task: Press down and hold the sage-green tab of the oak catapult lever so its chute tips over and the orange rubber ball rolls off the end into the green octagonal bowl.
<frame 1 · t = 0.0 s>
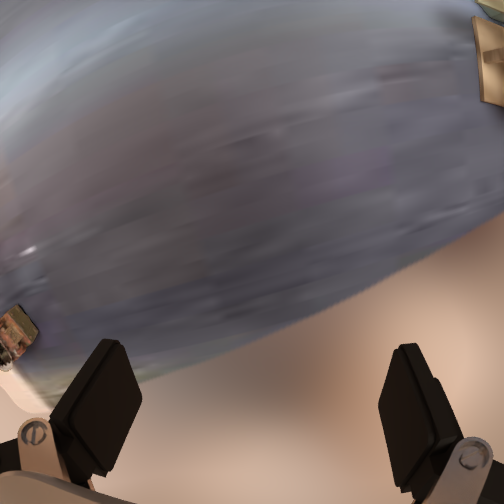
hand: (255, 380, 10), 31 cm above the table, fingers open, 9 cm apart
decorative box: (20, 333, 55), on the table
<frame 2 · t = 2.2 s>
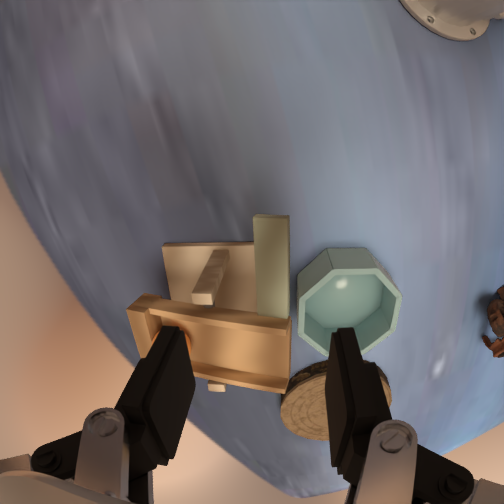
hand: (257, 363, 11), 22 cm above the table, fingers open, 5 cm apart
lever: (203, 311, 26), point 10 cm above the table, hinge at 12.0°, touching ball
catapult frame: (227, 292, 36), on the table
pottery mug: (497, 309, 34), on the table
green octagonal bowl: (342, 291, 34), on the table
wood log slice: (334, 394, 42), on the table
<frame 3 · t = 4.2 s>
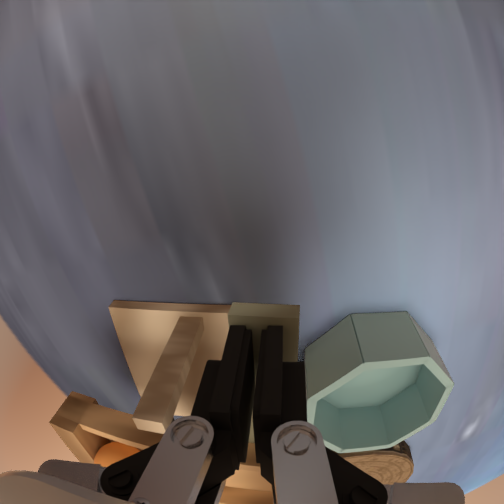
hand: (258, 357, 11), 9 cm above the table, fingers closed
ball: (121, 467, 15), point 11 cm above the table, tilted 8°, touching lever
lever: (158, 435, 14), point 10 cm above the table, hinge at 4.1°, touching ball, gripper
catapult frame: (205, 366, 24), on the table
green octagonal bowl: (368, 366, 23), on the table
wood log slice: (345, 464, 30), on the table
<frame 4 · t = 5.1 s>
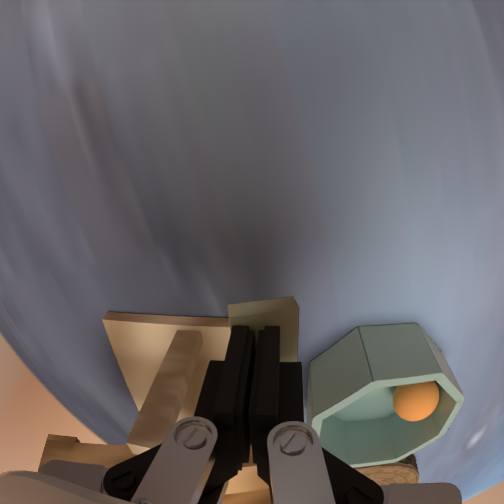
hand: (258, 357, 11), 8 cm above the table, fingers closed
ball: (416, 397, 19), point 2 cm above the table, tilted 89°, touching green octagonal bowl
lever: (158, 460, 13), point 10 cm above the table, hinge at -14.4°, touching gripper
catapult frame: (204, 379, 23), on the table
green octagonal bowl: (375, 379, 21), on the table
wood log slice: (349, 474, 29), on the table
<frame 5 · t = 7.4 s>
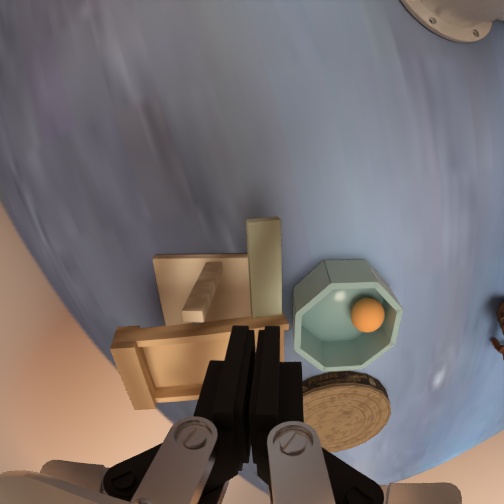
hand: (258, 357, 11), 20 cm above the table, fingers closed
ball: (367, 315, 31), point 2 cm above the table, tilted 98°, touching green octagonal bowl
lever: (198, 329, 24), point 10 cm above the table, hinge at -14.4°
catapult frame: (220, 305, 34), on the table
green octagonal bowl: (340, 304, 33), on the table
wood log slice: (332, 407, 40), on the table
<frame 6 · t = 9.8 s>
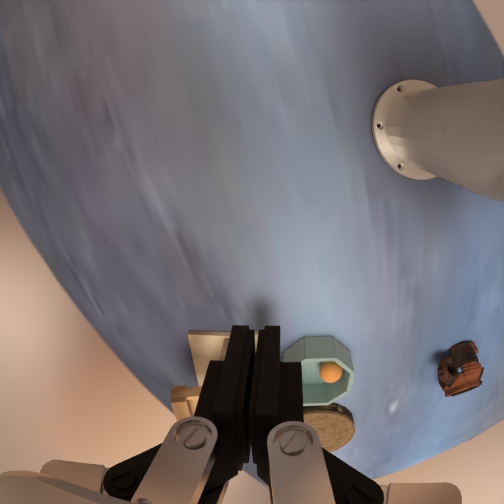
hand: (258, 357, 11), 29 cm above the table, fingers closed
ball: (330, 371, 45), point 2 cm above the table, tilted 108°, touching green octagonal bowl
lever: (223, 388, 39), point 10 cm above the table, hinge at -14.4°
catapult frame: (234, 361, 49), on the table
pottery mug: (451, 359, 46), on the table
green octagonal bowl: (315, 361, 48), on the table
wood log slice: (313, 423, 55), on the table
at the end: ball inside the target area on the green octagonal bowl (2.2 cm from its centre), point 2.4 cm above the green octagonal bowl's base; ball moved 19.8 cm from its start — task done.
